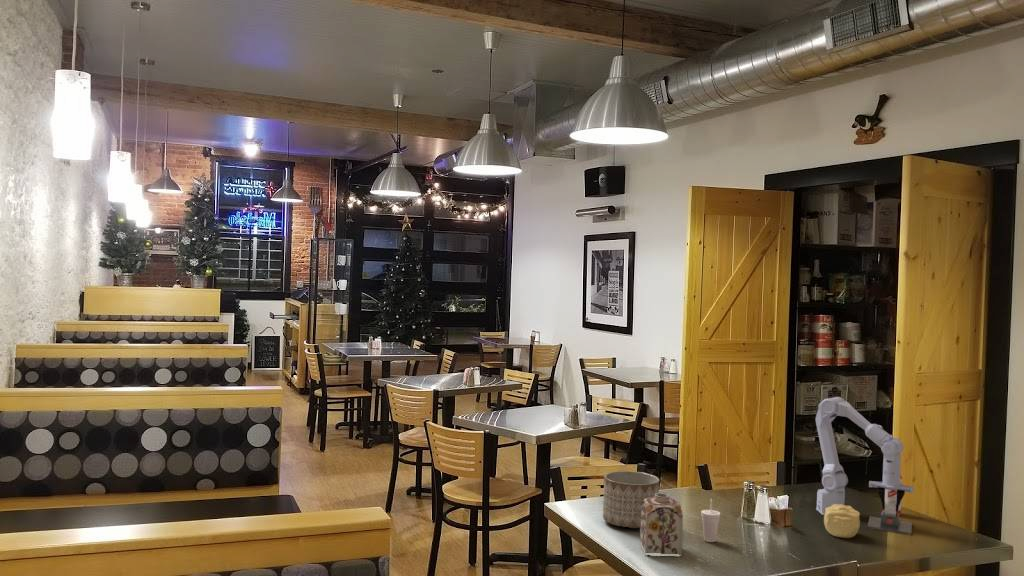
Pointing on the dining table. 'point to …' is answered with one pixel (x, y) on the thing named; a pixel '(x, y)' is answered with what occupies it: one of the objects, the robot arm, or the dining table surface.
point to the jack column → (890, 509)
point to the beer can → (893, 496)
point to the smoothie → (710, 523)
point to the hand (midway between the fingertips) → (890, 509)
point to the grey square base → (889, 524)
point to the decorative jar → (661, 525)
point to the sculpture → (842, 521)
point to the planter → (627, 496)
